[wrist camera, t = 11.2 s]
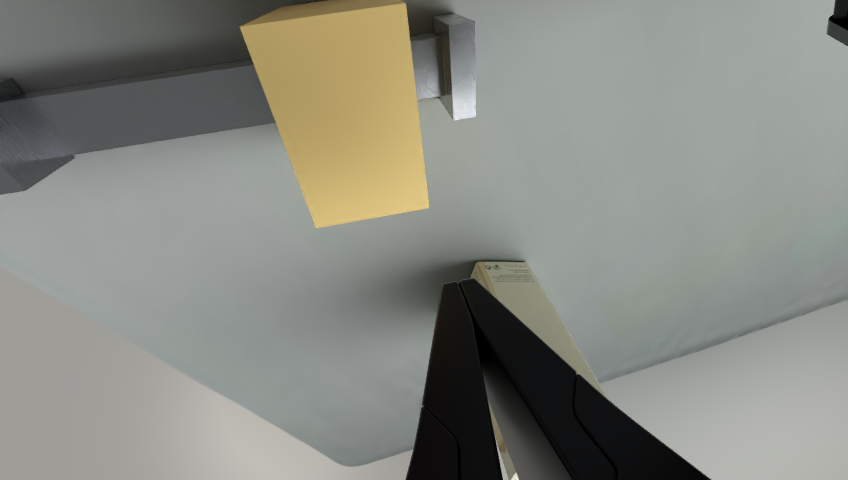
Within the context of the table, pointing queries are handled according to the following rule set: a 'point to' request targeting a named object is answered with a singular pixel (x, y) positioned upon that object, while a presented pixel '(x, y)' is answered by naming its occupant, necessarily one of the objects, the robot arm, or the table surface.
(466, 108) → the rail
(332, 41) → the block
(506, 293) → the skincare box
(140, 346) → the table surface
